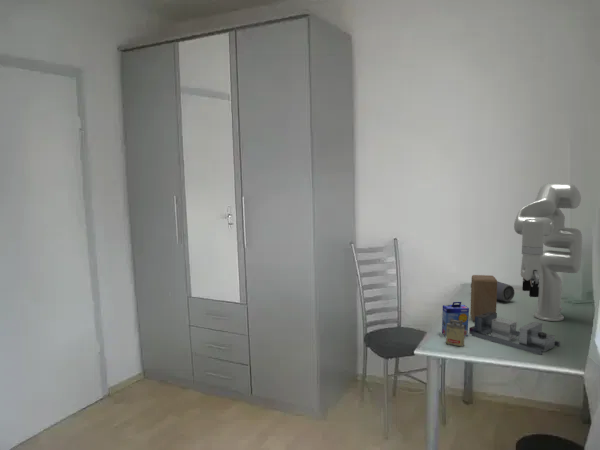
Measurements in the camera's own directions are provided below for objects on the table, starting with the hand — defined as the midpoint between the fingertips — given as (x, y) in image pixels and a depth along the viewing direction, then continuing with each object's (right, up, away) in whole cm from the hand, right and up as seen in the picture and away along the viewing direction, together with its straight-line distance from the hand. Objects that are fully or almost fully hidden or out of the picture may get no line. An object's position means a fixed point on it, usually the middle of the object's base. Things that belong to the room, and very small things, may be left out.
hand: (530, 293), depth 198 cm
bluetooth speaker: (+12, -13, +73) cm, 75 cm away
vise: (-4, -20, +8) cm, 22 cm away
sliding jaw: (+3, -20, -1) cm, 21 cm away
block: (-6, -17, +35) cm, 40 cm away
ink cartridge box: (-25, -19, +15) cm, 35 cm away
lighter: (-29, -21, +3) cm, 35 cm away
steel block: (-6, -20, +11) cm, 23 cm away
